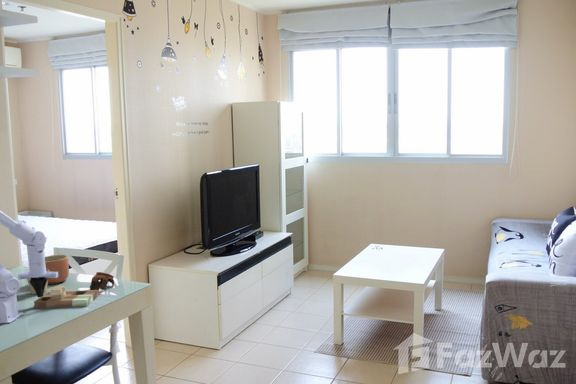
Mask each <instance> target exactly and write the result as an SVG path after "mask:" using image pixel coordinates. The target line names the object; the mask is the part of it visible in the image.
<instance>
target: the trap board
mask: <svg viewBox="0 0 576 384" xmlns="http://www.w3.org/2000/svg"><path fill="white" fill-rule="evenodd" d="M65 291H66V290H65ZM99 297H100V295H99V292H98V290H90V289H88V290H86V289H85V290H67V291H66V297H64V298H63V299H62V300H51V293H50V291H47V292H45V293H44V295H43V296H42V297H38V299H36V300H34V302H33V304H34V309H45V308H47V309H48V308H70V307H71V308H72V307H73V308H74V307H76V308H77V307H88V306H89V305H90V304H92V303H93V302H94V301H95V300H96V299H97V298H99Z"/></svg>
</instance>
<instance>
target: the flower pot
mask: <svg viewBox="0 0 576 384" xmlns="http://www.w3.org/2000/svg"><path fill="white" fill-rule="evenodd" d="M46 271H49V270H46ZM26 273H30V271H29V270H28V271H27V272H26ZM30 280H31V279H26V281H27V283H28V284H27V285H28V287H29V290H30V294H31V295H37V294H36V292H35V290H34V288H33V287H32V285H31V284H30V283H29V281H30ZM48 285H49V284H48V280H47V282H46V285H45V288H44V294H46V293H47V292H48Z"/></svg>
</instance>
